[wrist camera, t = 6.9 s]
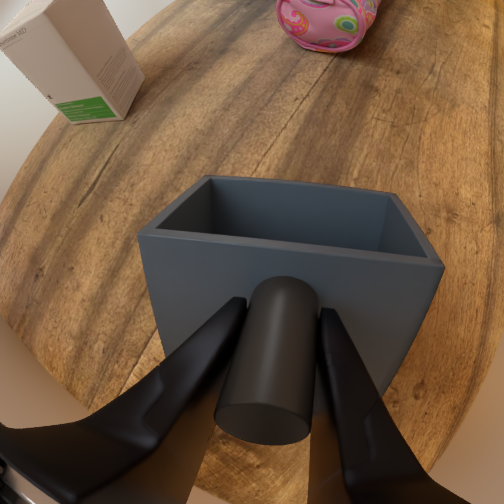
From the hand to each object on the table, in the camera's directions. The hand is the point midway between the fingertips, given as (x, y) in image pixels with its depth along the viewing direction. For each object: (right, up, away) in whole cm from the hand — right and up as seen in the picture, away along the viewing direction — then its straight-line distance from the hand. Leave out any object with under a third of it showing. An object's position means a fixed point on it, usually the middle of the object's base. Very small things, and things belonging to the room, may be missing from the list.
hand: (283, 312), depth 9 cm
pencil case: (+10, +30, +17) cm, 36 cm away
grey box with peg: (0, -6, +6) cm, 8 cm away
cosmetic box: (-17, +19, +18) cm, 31 cm away
